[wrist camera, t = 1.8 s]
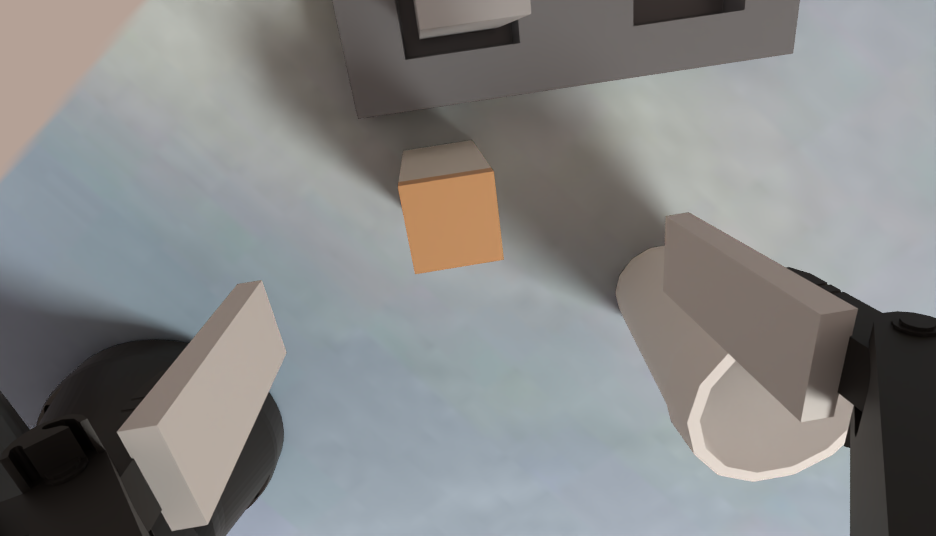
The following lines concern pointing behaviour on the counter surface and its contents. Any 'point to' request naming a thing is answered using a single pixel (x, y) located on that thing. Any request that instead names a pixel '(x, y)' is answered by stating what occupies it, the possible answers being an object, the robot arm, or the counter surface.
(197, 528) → the robot arm
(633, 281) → the foam cup
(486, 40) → the socket strip
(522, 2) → the grey tall block
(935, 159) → the counter surface
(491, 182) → the plug
